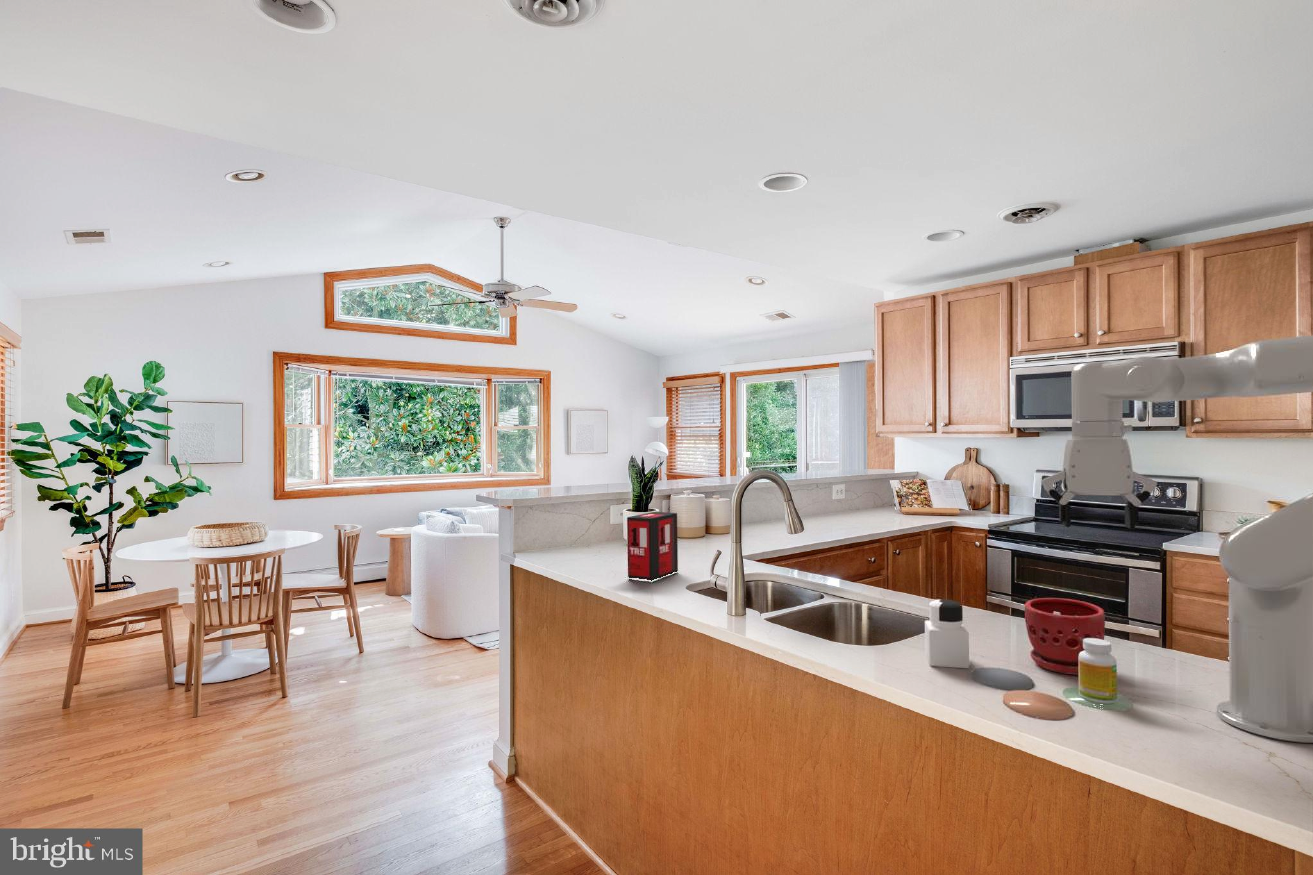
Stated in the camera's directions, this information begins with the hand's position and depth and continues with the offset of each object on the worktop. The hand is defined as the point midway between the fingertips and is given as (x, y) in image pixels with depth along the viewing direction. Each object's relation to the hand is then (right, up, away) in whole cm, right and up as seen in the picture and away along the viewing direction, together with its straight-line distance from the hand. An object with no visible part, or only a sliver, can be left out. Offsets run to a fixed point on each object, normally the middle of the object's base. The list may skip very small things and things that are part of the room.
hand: (1097, 527), depth 117 cm
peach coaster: (-16, -29, -9) cm, 34 cm away
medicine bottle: (-21, -29, +13) cm, 38 cm away
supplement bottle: (-4, -29, -6) cm, 29 cm away
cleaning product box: (-80, -29, +95) cm, 128 cm away
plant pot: (0, -29, +9) cm, 30 cm away
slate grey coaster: (-16, -29, +3) cm, 33 cm away
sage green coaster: (-4, -29, -6) cm, 30 cm away
